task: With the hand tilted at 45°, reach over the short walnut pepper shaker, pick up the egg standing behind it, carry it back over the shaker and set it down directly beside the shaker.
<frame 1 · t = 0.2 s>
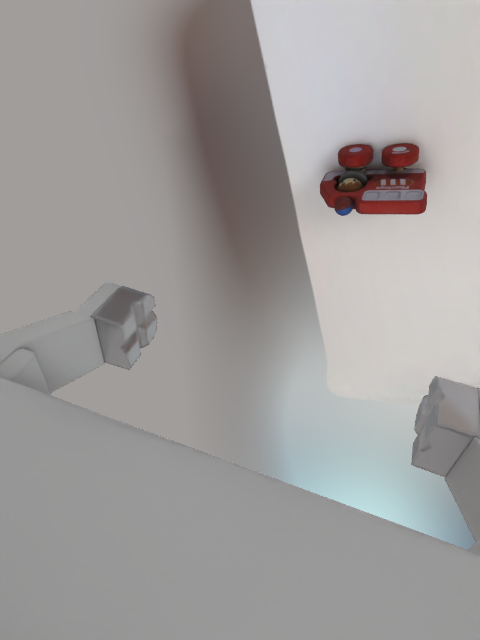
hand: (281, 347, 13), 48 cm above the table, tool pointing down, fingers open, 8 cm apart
toy fire truck: (377, 170, 55), on the table
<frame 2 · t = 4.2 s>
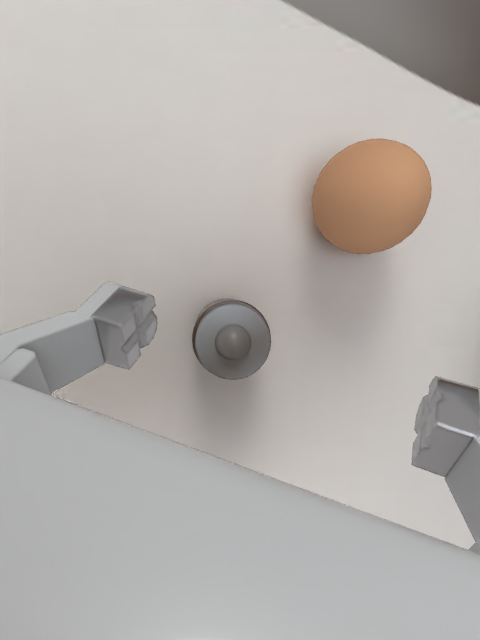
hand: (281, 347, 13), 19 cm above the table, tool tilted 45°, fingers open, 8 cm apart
egg: (344, 212, 32), on the table
pepper shaker: (227, 331, 31), on the table
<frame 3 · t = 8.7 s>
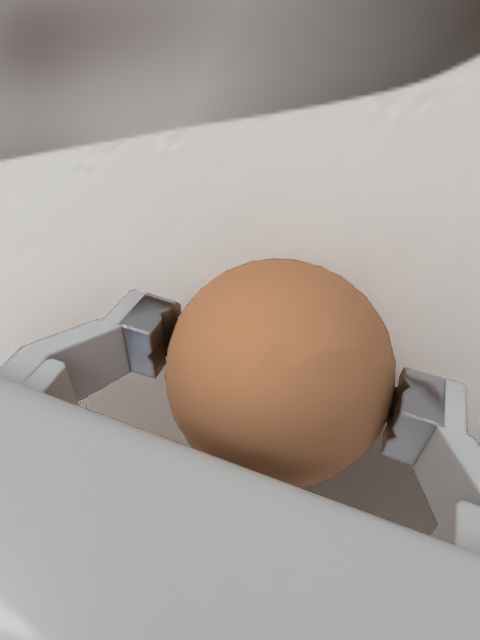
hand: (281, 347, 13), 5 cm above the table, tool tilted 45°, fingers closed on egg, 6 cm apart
egg: (294, 367, 18), on the table, touching gripper
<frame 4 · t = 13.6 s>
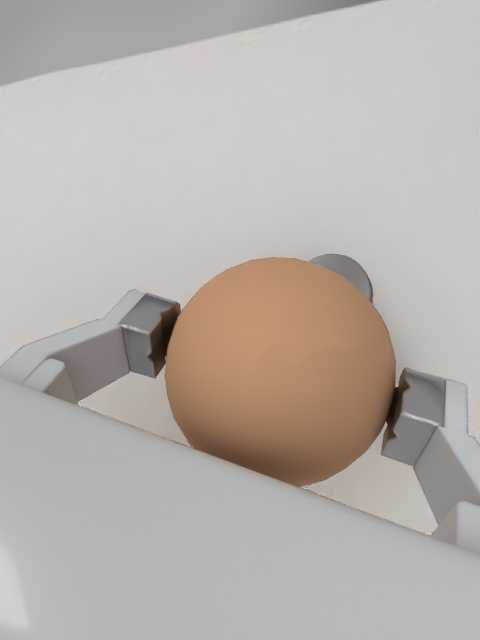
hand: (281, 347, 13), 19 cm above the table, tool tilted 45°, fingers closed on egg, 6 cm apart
egg: (294, 366, 18), point 14 cm above the table, touching gripper
pepper shaker: (333, 305, 31), on the table
when the fingers open (5 cm above the table, at t = 18.6 s): egg stays where it is, on the table.
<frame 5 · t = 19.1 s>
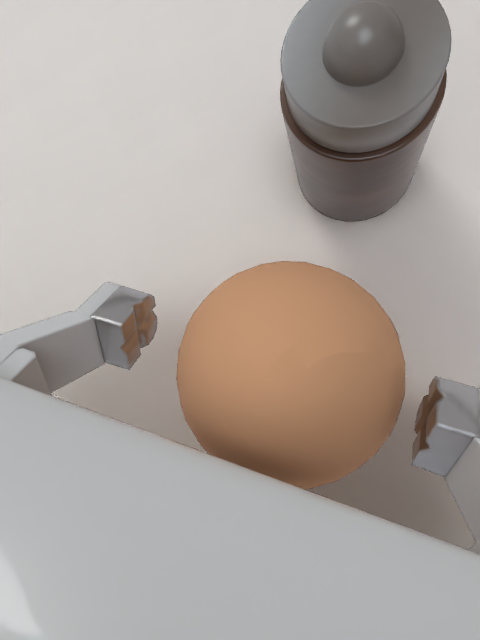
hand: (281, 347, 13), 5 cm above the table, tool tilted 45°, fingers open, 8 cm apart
egg: (302, 368, 18), on the table
pepper shaker: (354, 166, 18), on the table
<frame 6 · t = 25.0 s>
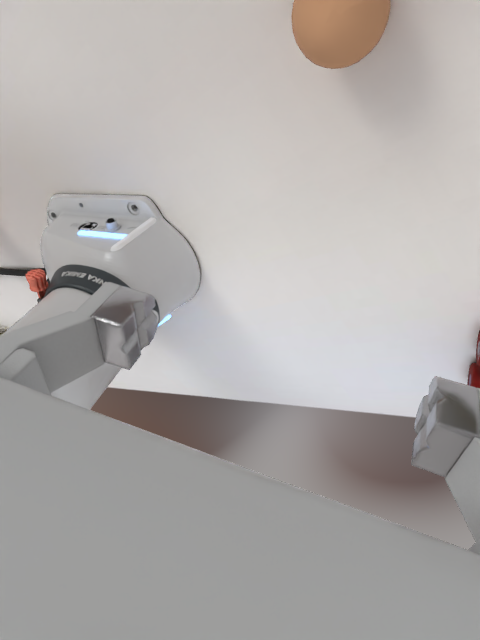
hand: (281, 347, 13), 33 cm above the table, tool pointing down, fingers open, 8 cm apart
egg: (351, 6, 34), on the table
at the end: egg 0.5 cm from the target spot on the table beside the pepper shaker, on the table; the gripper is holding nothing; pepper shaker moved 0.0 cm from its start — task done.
